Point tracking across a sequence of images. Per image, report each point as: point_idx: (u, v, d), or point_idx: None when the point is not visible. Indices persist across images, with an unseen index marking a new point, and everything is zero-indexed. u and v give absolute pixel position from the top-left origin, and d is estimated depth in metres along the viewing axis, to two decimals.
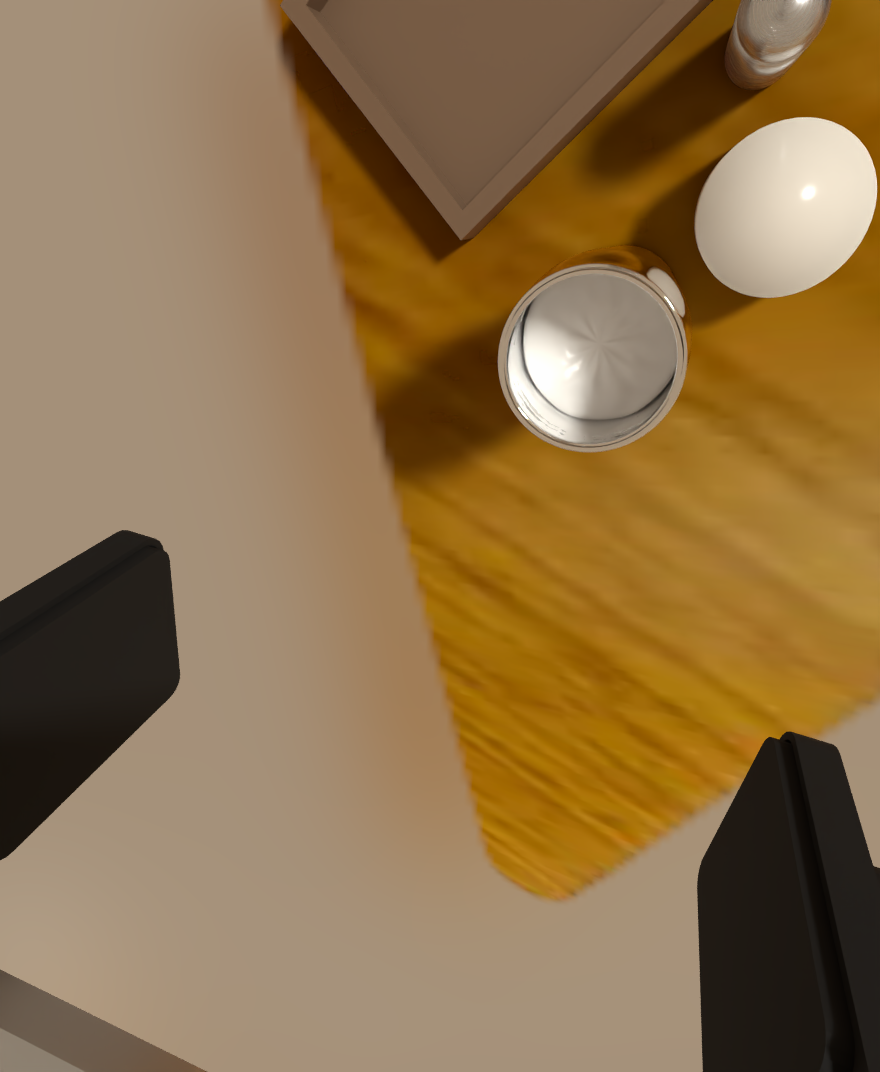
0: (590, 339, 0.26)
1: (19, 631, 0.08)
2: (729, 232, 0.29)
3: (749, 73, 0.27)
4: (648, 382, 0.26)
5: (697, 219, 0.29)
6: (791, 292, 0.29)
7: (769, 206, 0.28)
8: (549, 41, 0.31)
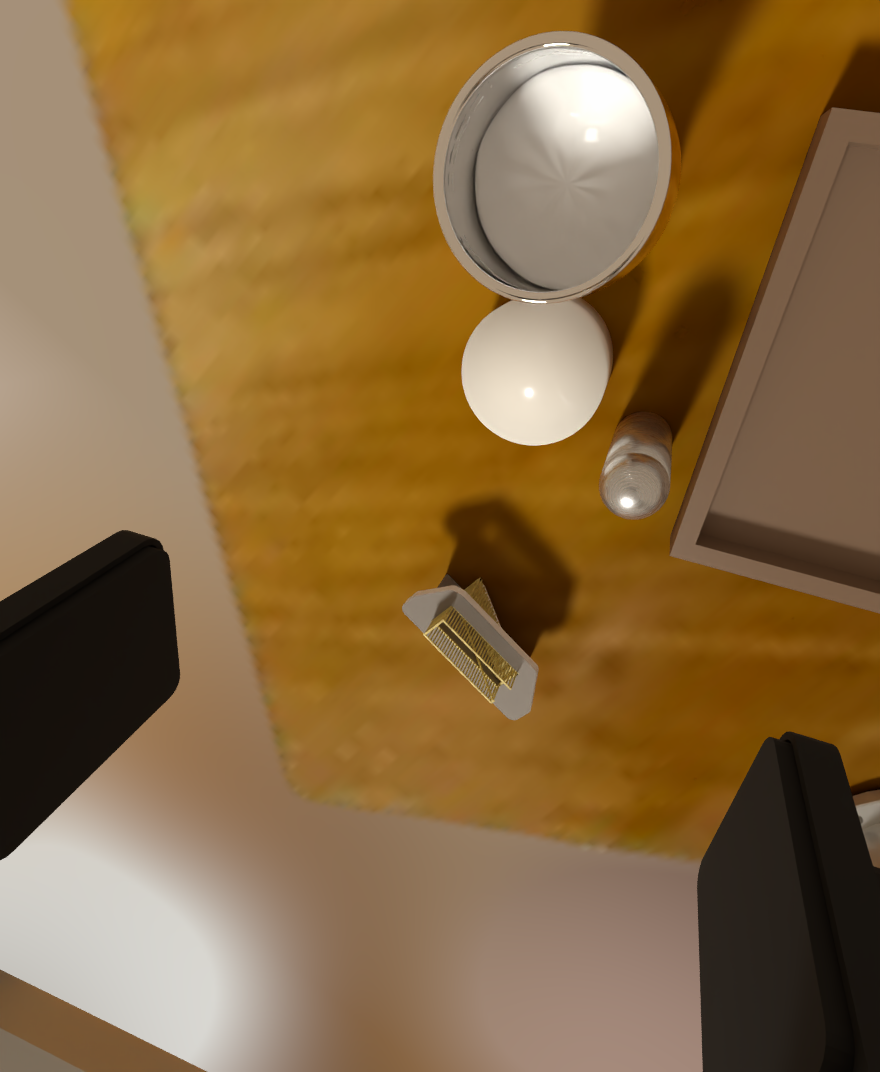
0: (578, 179, 0.21)
1: (19, 631, 0.08)
2: (555, 335, 0.30)
3: (632, 434, 0.31)
4: (492, 192, 0.22)
5: (587, 324, 0.30)
6: (473, 334, 0.31)
7: (543, 372, 0.31)
8: (834, 345, 0.29)
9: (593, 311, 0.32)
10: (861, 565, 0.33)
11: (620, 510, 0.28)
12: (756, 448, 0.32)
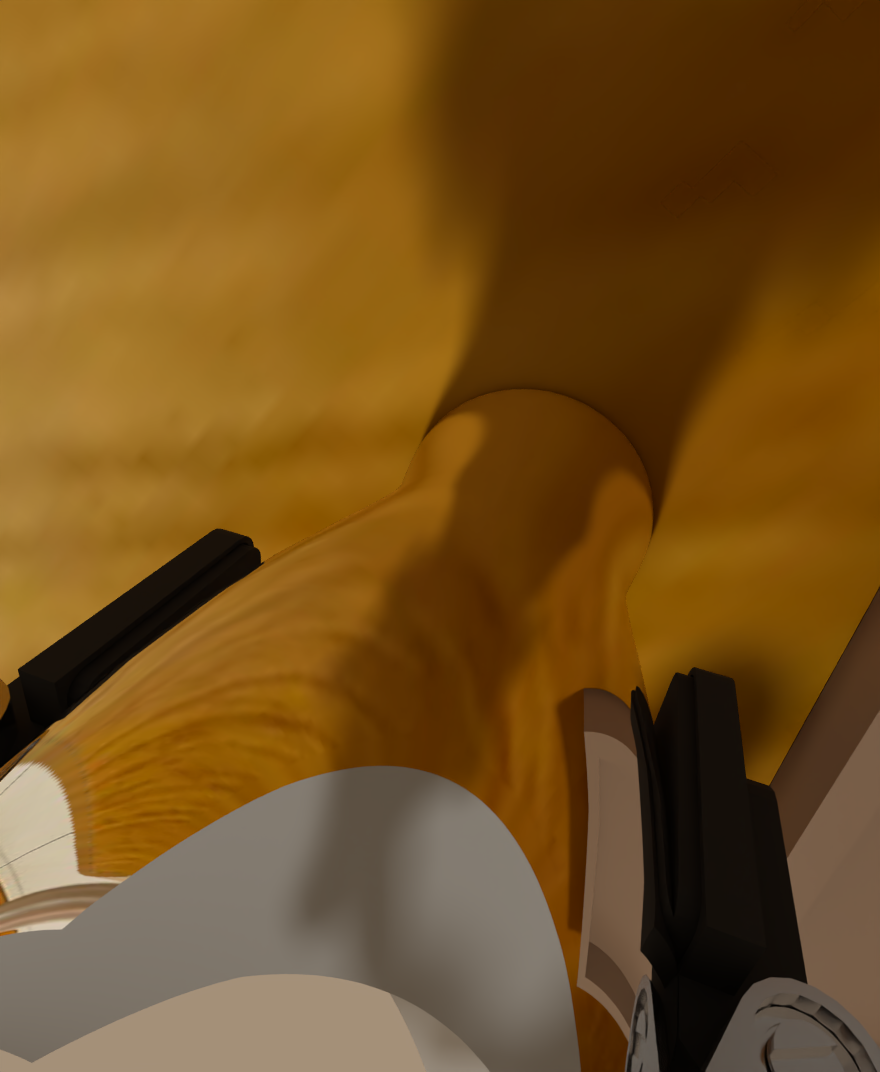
0: None
1: (142, 624, 0.08)
2: None
3: None
4: None
5: None
6: None
7: None
8: None
9: None
10: None
11: None
12: (812, 929, 0.18)
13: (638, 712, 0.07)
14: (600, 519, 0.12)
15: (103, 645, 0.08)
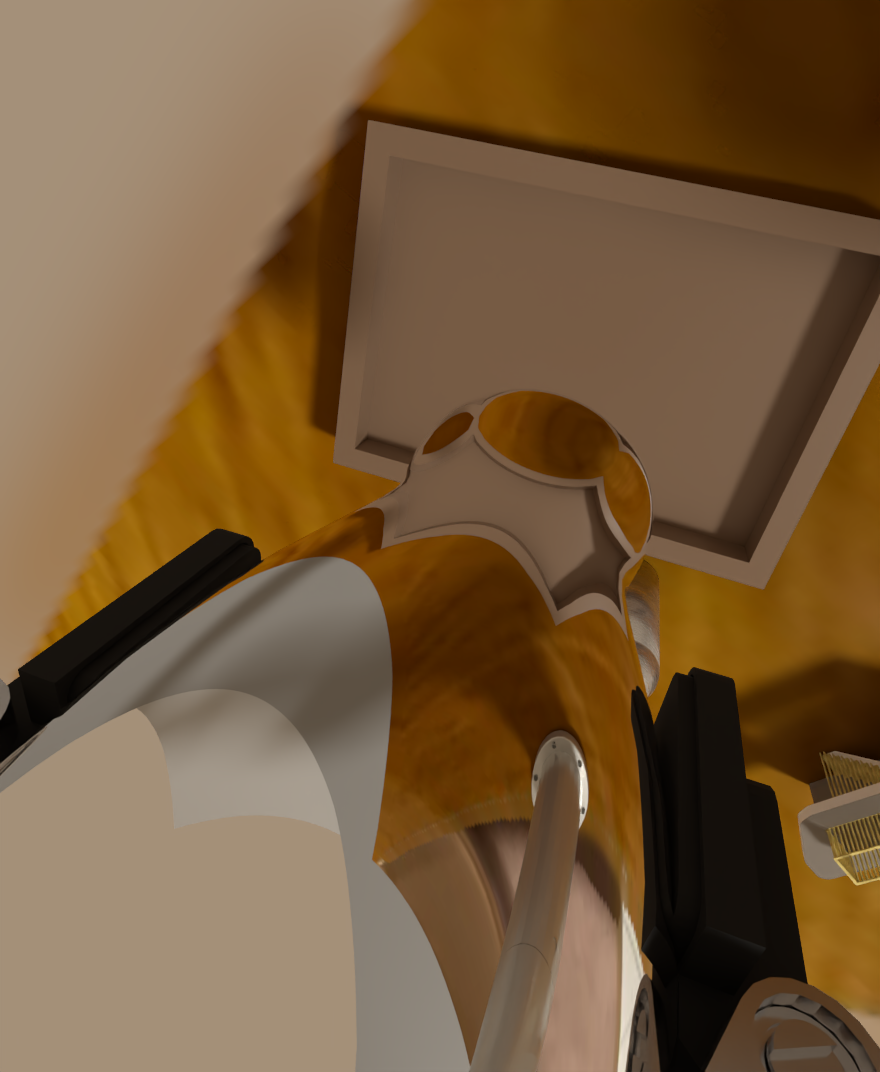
0: None
1: (143, 625, 0.08)
2: None
3: None
4: None
5: None
6: None
7: None
8: None
9: None
10: (814, 363, 0.25)
11: None
12: None
13: (638, 711, 0.07)
14: (600, 518, 0.12)
15: (103, 645, 0.08)
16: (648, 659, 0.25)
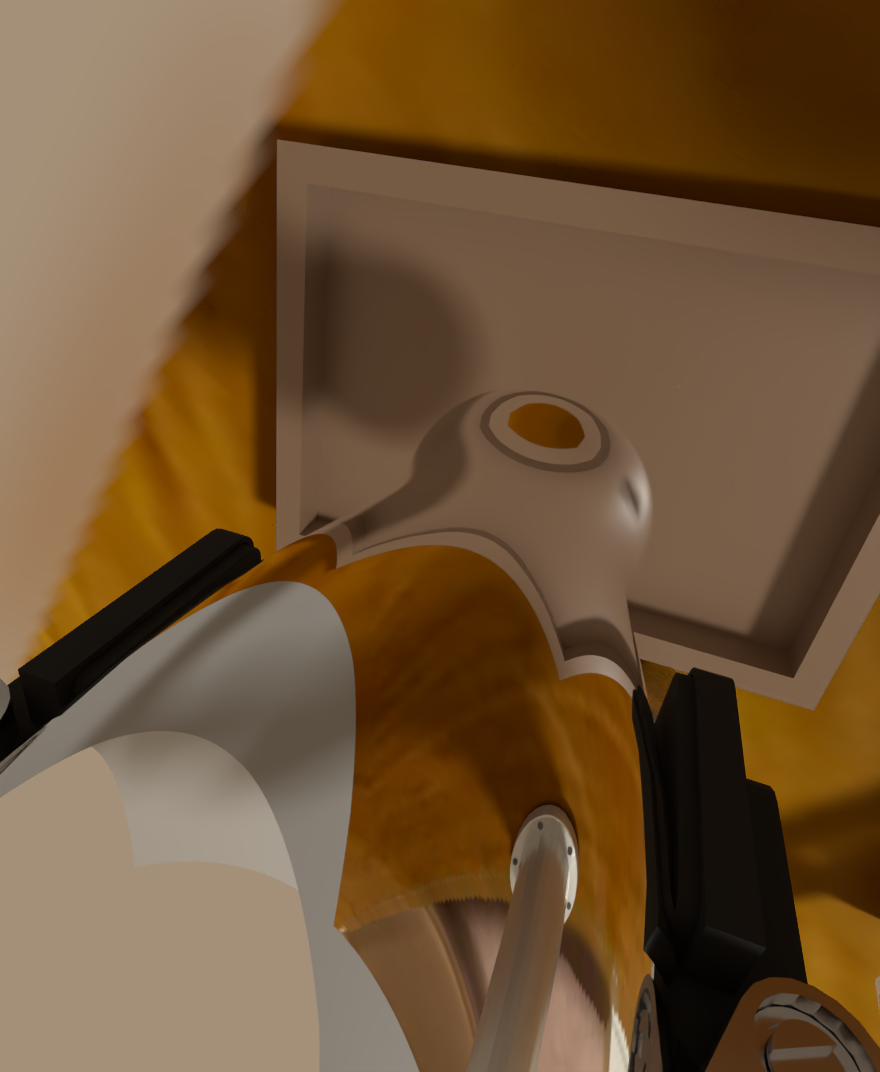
0: None
1: (142, 625, 0.08)
2: None
3: None
4: None
5: None
6: None
7: None
8: None
9: None
10: (874, 428, 0.19)
11: None
12: (646, 578, 0.23)
13: (639, 711, 0.07)
14: (600, 518, 0.12)
15: (103, 645, 0.08)
16: None
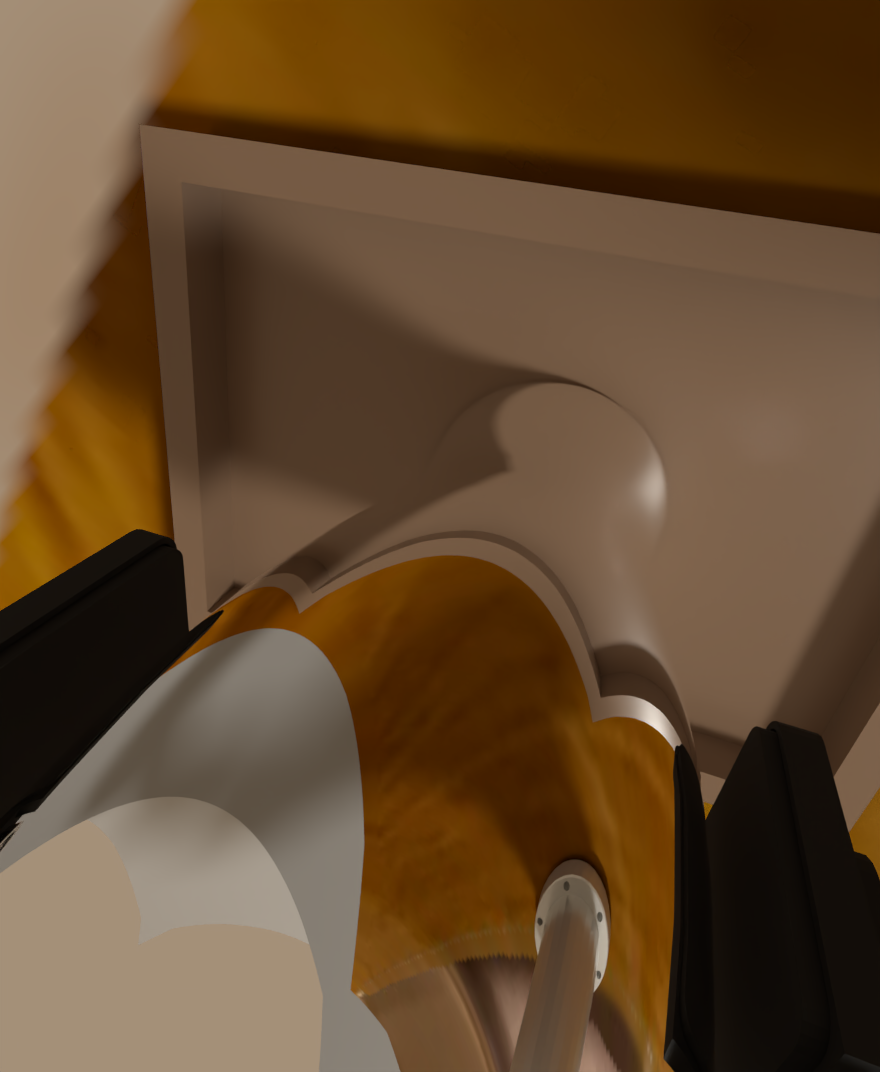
0: None
1: (38, 629, 0.08)
2: None
3: None
4: None
5: None
6: None
7: None
8: None
9: None
10: None
11: None
12: None
13: (670, 670, 0.08)
14: (623, 502, 0.12)
15: None
16: None
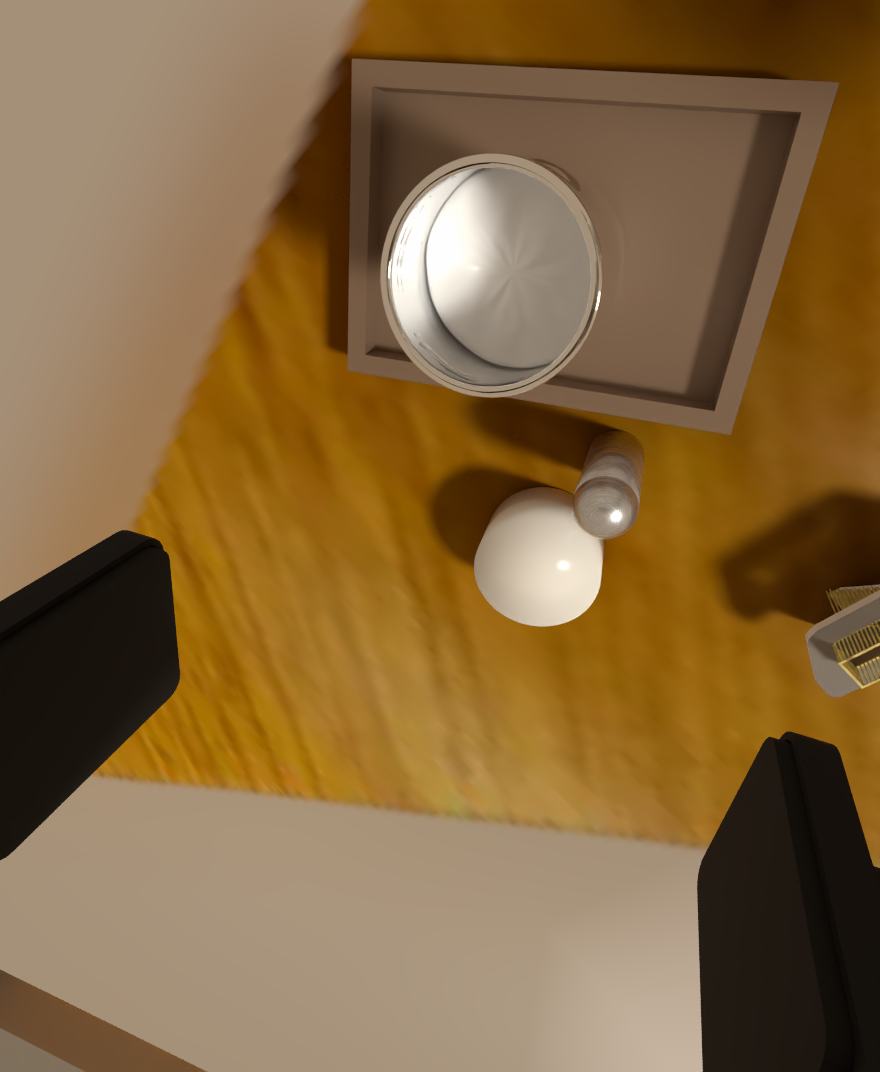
0: (524, 268, 0.22)
1: (19, 632, 0.08)
2: (501, 585, 0.37)
3: None
4: (443, 281, 0.23)
5: (475, 575, 0.37)
6: (557, 623, 0.37)
7: (525, 569, 0.36)
8: None
9: None
10: (750, 222, 0.29)
11: (619, 526, 0.29)
12: (612, 360, 0.33)
13: None
14: None
15: None
16: (626, 490, 0.29)
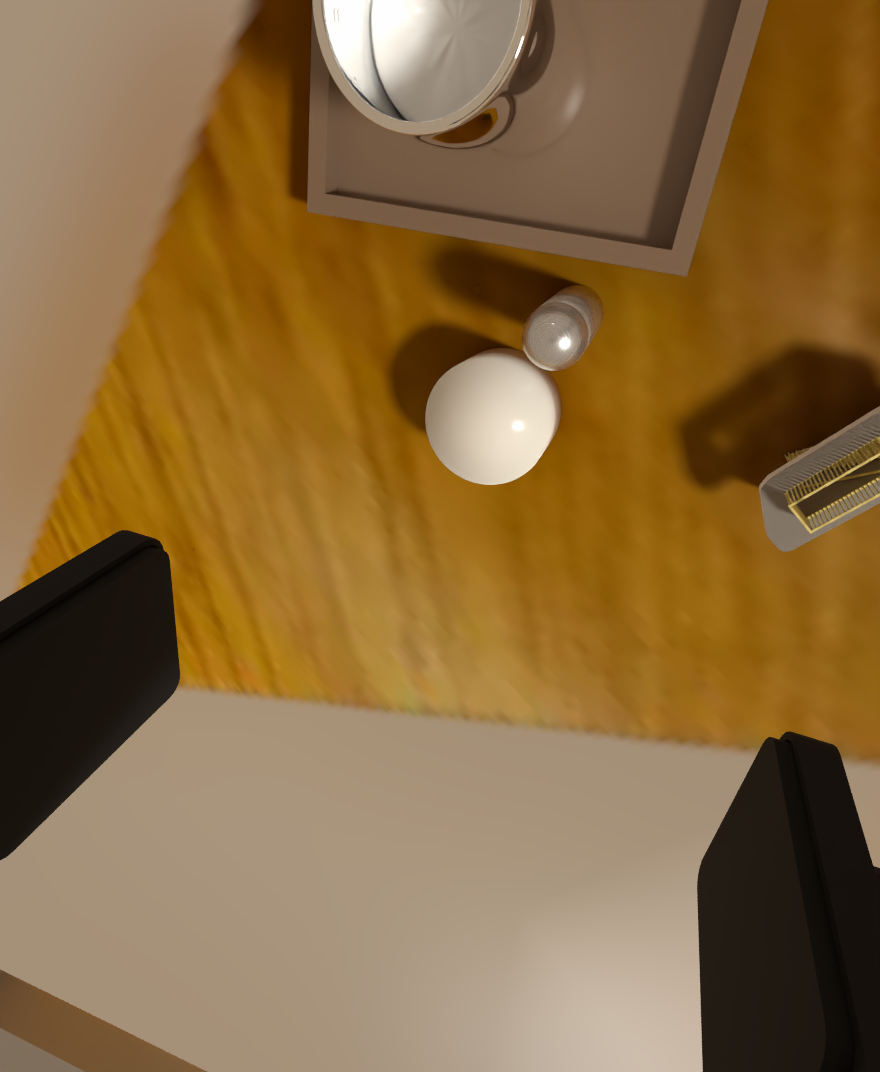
0: (468, 22, 0.21)
1: (19, 631, 0.08)
2: (454, 443, 0.37)
3: None
4: (387, 43, 0.22)
5: (429, 437, 0.37)
6: (514, 477, 0.36)
7: (474, 421, 0.36)
8: (475, 154, 0.33)
9: None
10: (714, 44, 0.28)
11: (567, 351, 0.29)
12: (573, 202, 0.32)
13: None
14: None
15: None
16: (576, 314, 0.28)
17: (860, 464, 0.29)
